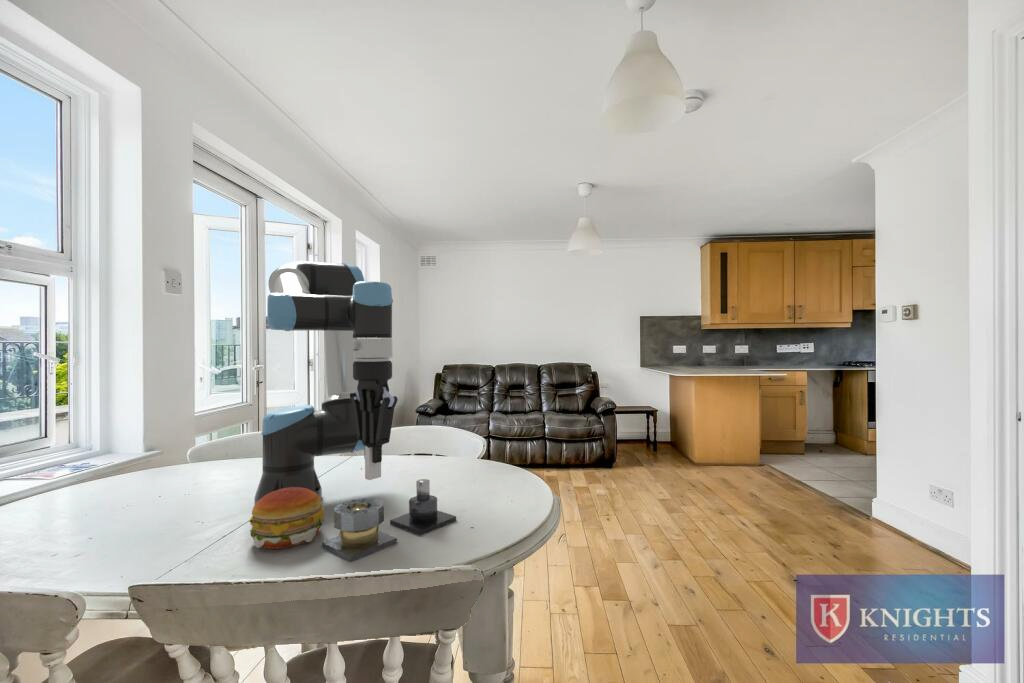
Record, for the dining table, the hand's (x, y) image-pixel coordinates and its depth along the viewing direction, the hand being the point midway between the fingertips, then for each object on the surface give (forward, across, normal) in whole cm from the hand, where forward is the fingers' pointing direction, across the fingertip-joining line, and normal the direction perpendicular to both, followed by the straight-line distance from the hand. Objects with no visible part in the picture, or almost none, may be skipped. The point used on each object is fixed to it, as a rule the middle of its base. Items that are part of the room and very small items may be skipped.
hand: (373, 477), depth 92 cm
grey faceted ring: (+8, +1, -4) cm, 8 cm away
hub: (+12, +1, -4) cm, 13 cm away
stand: (+12, +2, +11) cm, 17 cm away
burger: (+13, -13, -11) cm, 21 cm away
